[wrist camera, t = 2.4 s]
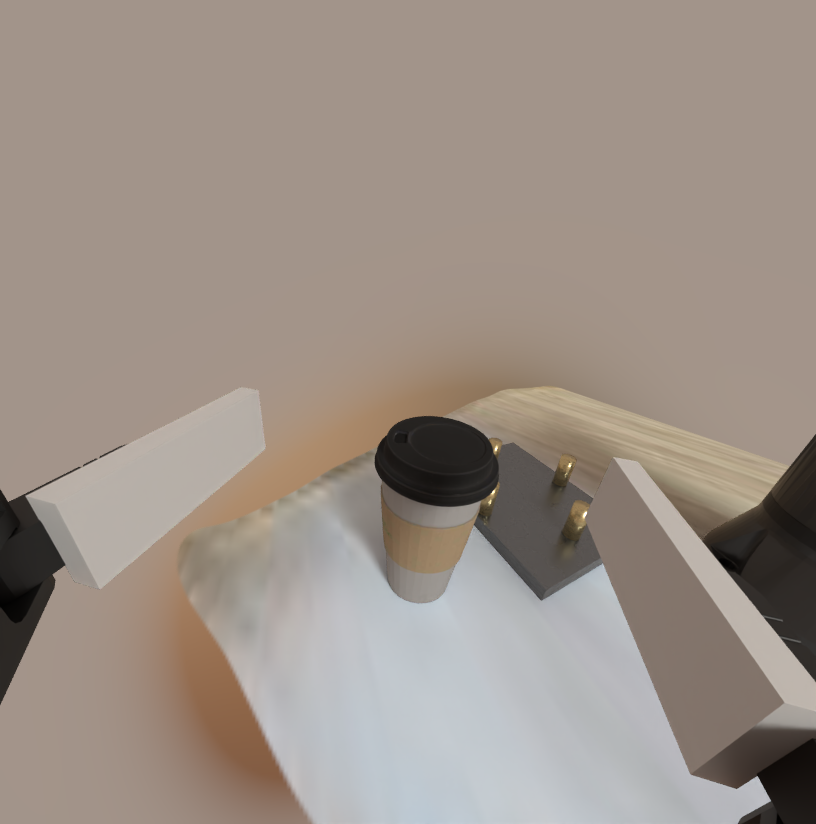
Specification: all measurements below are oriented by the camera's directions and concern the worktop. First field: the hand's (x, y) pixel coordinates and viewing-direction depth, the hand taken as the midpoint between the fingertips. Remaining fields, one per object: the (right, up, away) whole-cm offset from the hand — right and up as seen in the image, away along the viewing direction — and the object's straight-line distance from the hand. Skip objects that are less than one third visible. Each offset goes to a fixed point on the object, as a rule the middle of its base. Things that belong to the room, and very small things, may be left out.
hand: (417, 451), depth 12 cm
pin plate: (+14, -10, +28) cm, 33 cm away
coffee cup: (+1, -14, +18) cm, 23 cm away
